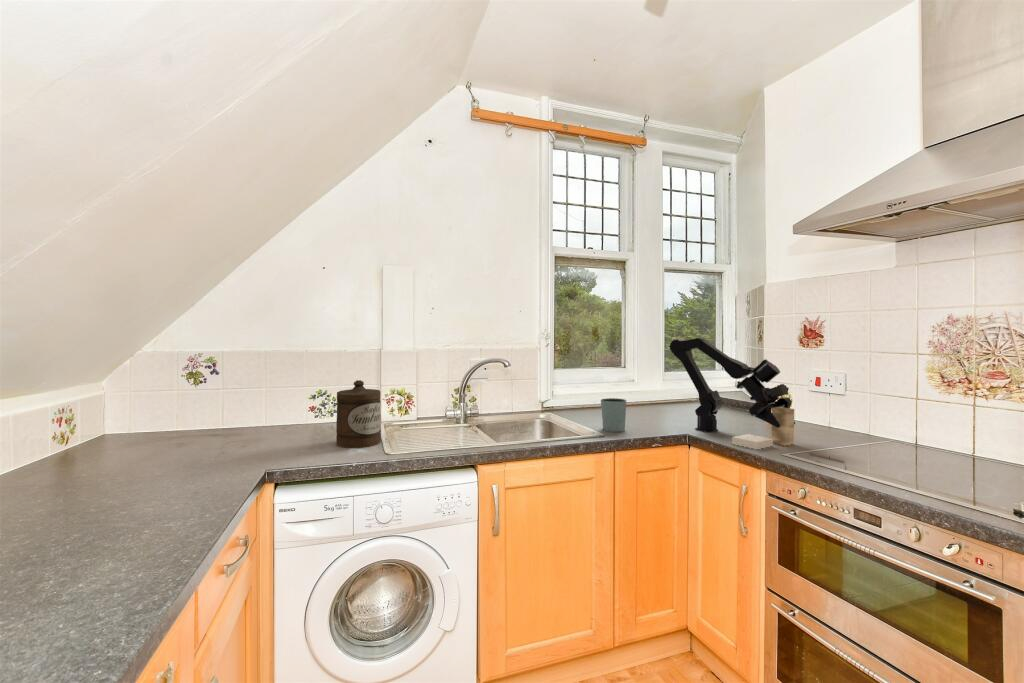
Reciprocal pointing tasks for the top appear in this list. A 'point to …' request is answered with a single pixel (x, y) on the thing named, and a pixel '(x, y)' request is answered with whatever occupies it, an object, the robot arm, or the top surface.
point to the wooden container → (358, 417)
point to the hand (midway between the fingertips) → (786, 425)
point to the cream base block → (752, 441)
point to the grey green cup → (613, 414)
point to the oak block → (783, 426)
